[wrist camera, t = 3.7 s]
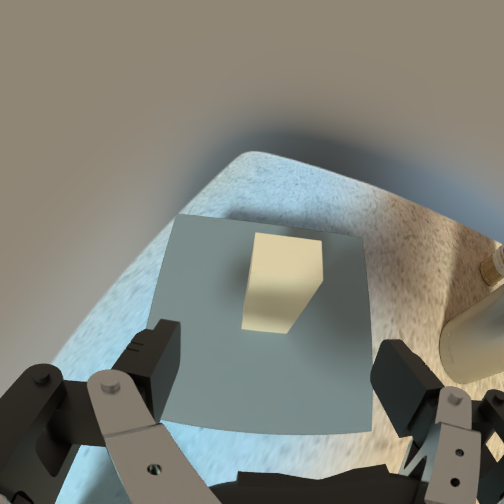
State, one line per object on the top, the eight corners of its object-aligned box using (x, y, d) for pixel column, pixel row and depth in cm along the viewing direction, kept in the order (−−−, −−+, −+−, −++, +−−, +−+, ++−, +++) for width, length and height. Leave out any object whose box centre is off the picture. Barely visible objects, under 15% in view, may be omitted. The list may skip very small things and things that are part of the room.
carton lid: (333, 278, 30) (403, 169, 17) (332, 428, 22) (449, 429, 8) (186, 261, 30) (163, 133, 16) (158, 413, 21) (68, 405, 8)
